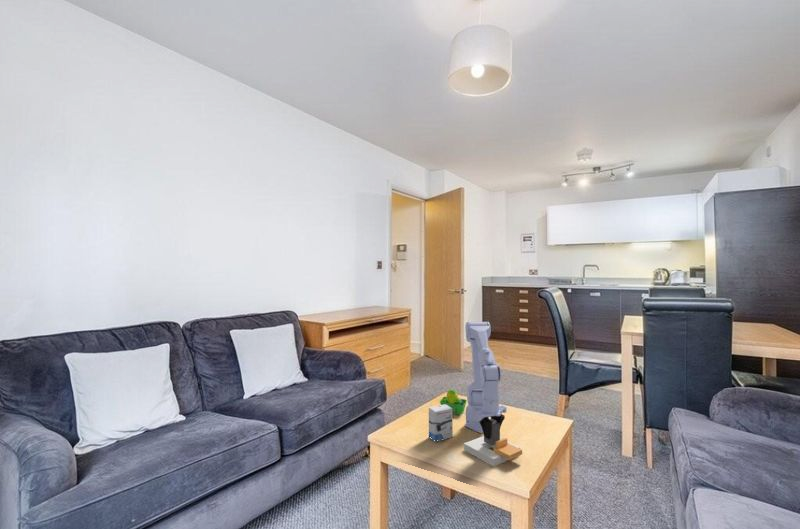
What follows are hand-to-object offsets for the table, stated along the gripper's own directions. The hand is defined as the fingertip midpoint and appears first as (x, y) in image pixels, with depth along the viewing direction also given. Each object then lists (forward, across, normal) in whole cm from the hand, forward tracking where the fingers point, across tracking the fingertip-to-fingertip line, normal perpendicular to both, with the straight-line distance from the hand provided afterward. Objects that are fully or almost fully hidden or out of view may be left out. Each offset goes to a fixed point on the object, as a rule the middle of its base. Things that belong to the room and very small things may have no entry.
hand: (491, 436), depth 134 cm
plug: (+2, 0, 0) cm, 2 cm away
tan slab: (+3, 0, -7) cm, 8 cm away
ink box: (+6, -7, +20) cm, 22 cm away
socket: (+6, 0, 0) cm, 6 cm away
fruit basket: (+6, +15, +37) cm, 40 cm away
